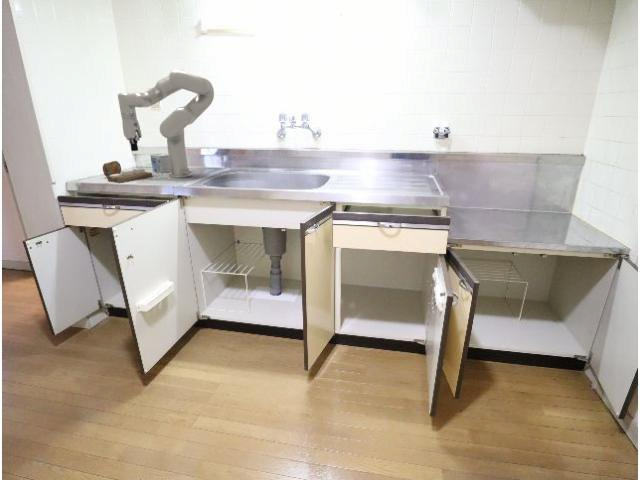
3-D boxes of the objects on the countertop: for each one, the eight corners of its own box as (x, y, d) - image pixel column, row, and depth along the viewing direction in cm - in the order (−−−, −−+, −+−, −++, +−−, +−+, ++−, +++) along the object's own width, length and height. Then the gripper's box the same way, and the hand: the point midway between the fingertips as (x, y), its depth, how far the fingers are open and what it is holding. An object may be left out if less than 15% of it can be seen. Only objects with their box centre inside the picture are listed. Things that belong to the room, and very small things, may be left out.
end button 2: (145, 173, 212) (144, 168, 211) (138, 175, 208) (137, 169, 207) (140, 173, 214) (139, 168, 213) (133, 174, 210) (132, 169, 209)
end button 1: (122, 179, 201) (121, 174, 200) (115, 181, 197) (114, 175, 196) (118, 179, 203) (117, 173, 202) (110, 180, 199) (109, 175, 198)
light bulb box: (152, 171, 227) (149, 154, 223) (162, 170, 232) (159, 153, 229) (162, 173, 222) (160, 155, 218) (172, 171, 227) (169, 154, 223)
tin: (108, 178, 207) (105, 163, 204) (103, 178, 207) (100, 163, 204) (122, 173, 221) (120, 159, 218) (117, 173, 221) (114, 159, 218)
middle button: (134, 175, 206) (133, 170, 205) (126, 177, 202) (125, 171, 201) (129, 175, 208) (128, 169, 207) (122, 176, 205) (121, 171, 204)
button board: (152, 177, 210) (151, 172, 209) (119, 183, 194) (118, 178, 193) (140, 175, 216) (140, 170, 215) (107, 181, 200) (106, 176, 199)
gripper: (143, 117, 199) (148, 151, 206) (127, 116, 206) (133, 149, 213) (130, 117, 193) (136, 152, 200) (114, 116, 200) (120, 150, 207)
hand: (134, 150), depth 206 cm, fingers closed
